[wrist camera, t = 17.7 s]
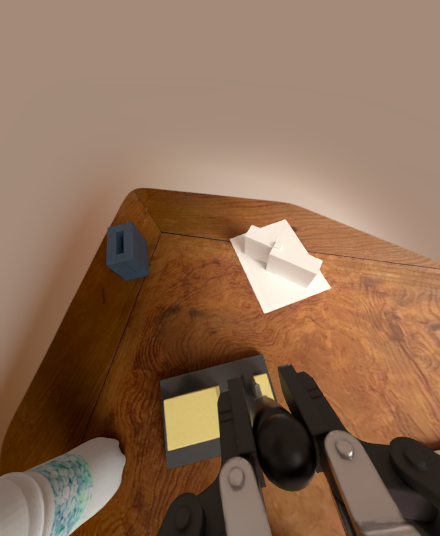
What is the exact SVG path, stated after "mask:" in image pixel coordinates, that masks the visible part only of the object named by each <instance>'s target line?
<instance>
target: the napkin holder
mask: <svg viewBox="0 0 440 536" xmlns="http://www.w3.org/2000/svg"><path fill="white" fill-rule="evenodd" d="M230 241H231V243H232V245H233V247H234V249H235V252H236V254H237V256H238V258H239V260H240V262H241V264H242V267H243V269H244V271H245V273H246V275H247V277H248V280H249V282H250V284H251V286H252V288H253V290H254V292H255V295H256V297H257V299H258V301H259V303H260V305H261V307H262V310H263V312H264V314H265V313H268V312H271V311H273V310H276V309H278V308H281V307H284V306H286V305H289V304H291V303H294V302H297V301H299V300H302V299H304V298H307V297H309V296H312V295H315V294H317V293H320V292H322V291H325V290H328V289H330V288H331V287H330V286H329V284H328V283H327V280H325V278H324V277H323V275H322V274H321V272H320V271H319V269H320V267H321V264H322V262H323V261H322V260H320V259H317V258H315V257H313V256H310V255H309V254H308V252H307V251H306V249H305V248H304V246H303V245H302V243H301V242H300V240H299V239H298V237H297V236H296V234H295V233H294V231H293V230H292V228H291V227H290V225H289V224H288V222H287V221H286V219H285V220H282V221H279V222H276V223H273V224H271V225H268V226H265V227H262V228H258V227H256V226H253V225H252V226H251V227H250V229H249V230H248V232H247V233H245V234H243V235H240V236H237V237H234V238H231V239H230Z"/></svg>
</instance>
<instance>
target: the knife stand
mask: <svg viewBox="0 0 440 536" xmlns="http://www.w3.org/2000/svg"><path fill="white" fill-rule="evenodd" d="M106 265H107V266H108V267H109V268H110V269H112V270H113V271H114V272H116V273H117V274H118V275H119V276H121V277H122V278H123V279H124V280H126V281H128V280H132V279H136V278H140V277H144V276H148V275H149V264H148V250H147V241H146V240H145V239H144V237H143V236H142V235H141V233H140V232H139V230H138V229H137V228H136V226H135V225H134V224H133V222H128V223H124V224H120V225H116V226H113V227H109V228H108V232H107V259H106Z"/></svg>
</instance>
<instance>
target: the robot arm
mask: <svg viewBox="0 0 440 536" xmlns="http://www.w3.org/2000/svg"><path fill="white" fill-rule="evenodd" d="M278 372H279V378H280V383H281V388H282V392H283V395H284V398H285V400H286V403H287V405H288V407H289V410H290V412H291V414H292V415H293V416H294V417H295V418H296V419H298V420H299V421H300V422H301V423H302V424H303V425H304V426H305V427H306V429H307V430H308V432H309V433H310V435H311V437H312V439H313V442H314V444H315V448H316V454H317V467H316V472H317V473H319V472H324V474H325V476H326V479H327V481H328V483H329V488H330V492H331V496H332V498H333V501H334V504H335V506H336V509H337V512H338V515H339V517H340V520H341V523H342V526H343V528H344V531H345V534H346V536H440V455H439V454H437V453H436V452H434V451H433V450H431V449H429V448H428V447H426V446H425V445H423V444H421V443H420V442H418V441H416V440H414V439H411V438H407V437H397V438H394V439H393V440H392V441H391V442H390V445H381V444H373V443H367V442H364V441H361V440H359V439H357V438H356V437H354V436H353V435H351V434H350V433H349V432H348V431H347V430H346V429H345V427H344V426H343V424H342V423H341V421H340V420H339V418H338V417H337V415H336V414H335V412H334V410H333V409H332V407H331V406H330V404H329V403H328V401H327V400H326V398H325V397H324V395H323V393H322V392H321V390H320V389H319V388H318V386H317V384H316V383H315V381H314V379H313V378H312V377H311V376H309V375H308V374H307V373H305V372H304V371H303V372H299V373H296V371H295V369H294V367H293V366H292V364H287V365H283V366H279V367H278ZM227 382H228V389H229V391H226V392H222V393H220V395H219V398H218V402H217V408H218V420H219V433H220V445H221V458H222V462H221V468H220V472H219V474H218V476H217V478H216V480H215V481H214V482H213V483H212V484H211V485H210V486H209V487H208V488H207V489H205V490H204V491H203V492H201V493H200V494H199V495H197V496H196V495H194V494H193V493H183V494H181V495H180V496H178V497H177V498H176V499H175V500H174V501H173V502H172V504H171V505H170V507H169V509H168V511H167V513H166V516H165V518H164V520H163V523H162V525H161V527H160V529H159V532H158V534H157V536H272V534H271V530H270V527H269V523H268V520H267V516H266V508H265V503H264V498H263V494H262V489H261V488H262V487H266V484H265V480H264V476H263V471H262V468H261V466H260V464H259V462H258V458H257V450H256V446H255V440H254V434H253V428H252V424H251V420H250V415H249V411H248V407H247V402H246V398H245V395H244V391H243V387H242V383H241V379H240V377H236V378H233V379H229V380H227Z"/></svg>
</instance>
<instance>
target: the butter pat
mask: <svg viewBox="0 0 440 536" xmlns="http://www.w3.org/2000/svg"><path fill="white" fill-rule="evenodd" d="M253 380H254V381H255V382H256V383H258V384H259V385H260V388H261V392H262V396H263V395H267V397H269V398H272V399H273V400H274V397H273V394H272V390H271V387H270V384H269V380H268V377H267V374H266V373H263V374H259V375H255V376H253Z"/></svg>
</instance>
